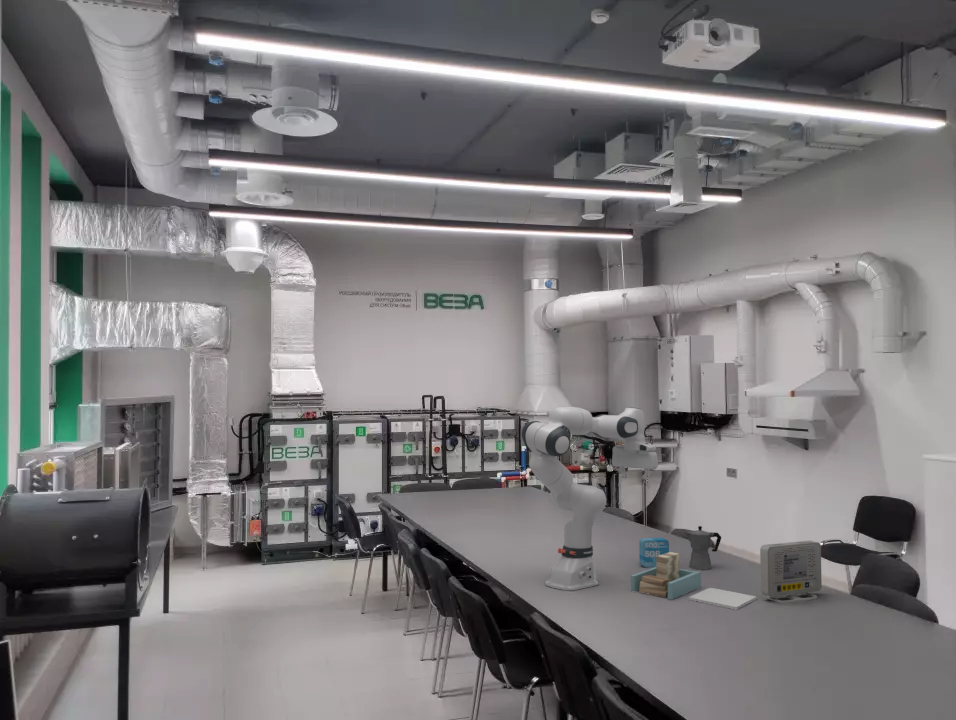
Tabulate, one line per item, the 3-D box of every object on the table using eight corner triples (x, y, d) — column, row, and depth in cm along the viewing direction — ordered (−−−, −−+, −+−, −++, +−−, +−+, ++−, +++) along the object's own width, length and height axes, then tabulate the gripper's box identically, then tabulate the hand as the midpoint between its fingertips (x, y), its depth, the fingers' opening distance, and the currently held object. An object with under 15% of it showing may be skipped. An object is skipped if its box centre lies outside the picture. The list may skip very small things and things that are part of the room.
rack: (671, 600, 264) (671, 583, 265) (631, 591, 276) (630, 575, 276) (700, 587, 282) (700, 571, 282) (661, 579, 293) (661, 564, 294)
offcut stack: (665, 598, 267) (665, 581, 267) (638, 592, 274) (638, 576, 275) (672, 595, 271) (671, 579, 271) (645, 589, 278) (645, 574, 278)
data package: (643, 568, 313) (643, 540, 314) (639, 565, 317) (639, 538, 318) (669, 567, 315) (669, 539, 315) (665, 564, 319) (664, 537, 320)
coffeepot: (684, 569, 311) (684, 527, 312) (685, 564, 320) (684, 523, 321) (721, 571, 307) (721, 529, 307) (721, 566, 316) (721, 525, 316)
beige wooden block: (666, 592, 275) (665, 558, 275) (656, 590, 277) (656, 556, 278) (679, 586, 283) (679, 553, 283) (670, 585, 285) (669, 551, 286)
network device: (809, 591, 276) (808, 539, 277) (827, 597, 268) (826, 543, 269) (756, 598, 267) (755, 544, 268) (774, 604, 259) (773, 548, 260)
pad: (736, 610, 252) (736, 607, 252) (688, 599, 264) (688, 597, 265) (756, 599, 266) (756, 596, 266) (710, 590, 278) (710, 587, 278)
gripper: (609, 444, 308) (609, 477, 308) (652, 447, 295) (652, 481, 294) (616, 444, 313) (616, 476, 312) (659, 446, 300) (659, 480, 299)
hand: (634, 478), depth 303 cm, fingers open, 8 cm apart
